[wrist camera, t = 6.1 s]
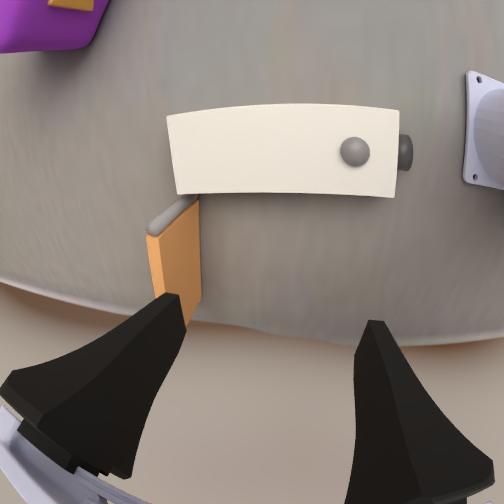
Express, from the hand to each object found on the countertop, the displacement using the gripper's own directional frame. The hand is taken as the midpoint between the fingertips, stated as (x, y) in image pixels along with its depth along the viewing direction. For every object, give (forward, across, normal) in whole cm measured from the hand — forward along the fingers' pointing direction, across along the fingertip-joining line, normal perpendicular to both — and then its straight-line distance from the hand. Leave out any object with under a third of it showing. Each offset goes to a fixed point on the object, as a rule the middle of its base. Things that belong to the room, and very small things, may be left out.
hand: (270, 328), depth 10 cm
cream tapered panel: (+10, +1, -5) cm, 12 cm away
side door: (+10, +7, +3) cm, 13 cm away
